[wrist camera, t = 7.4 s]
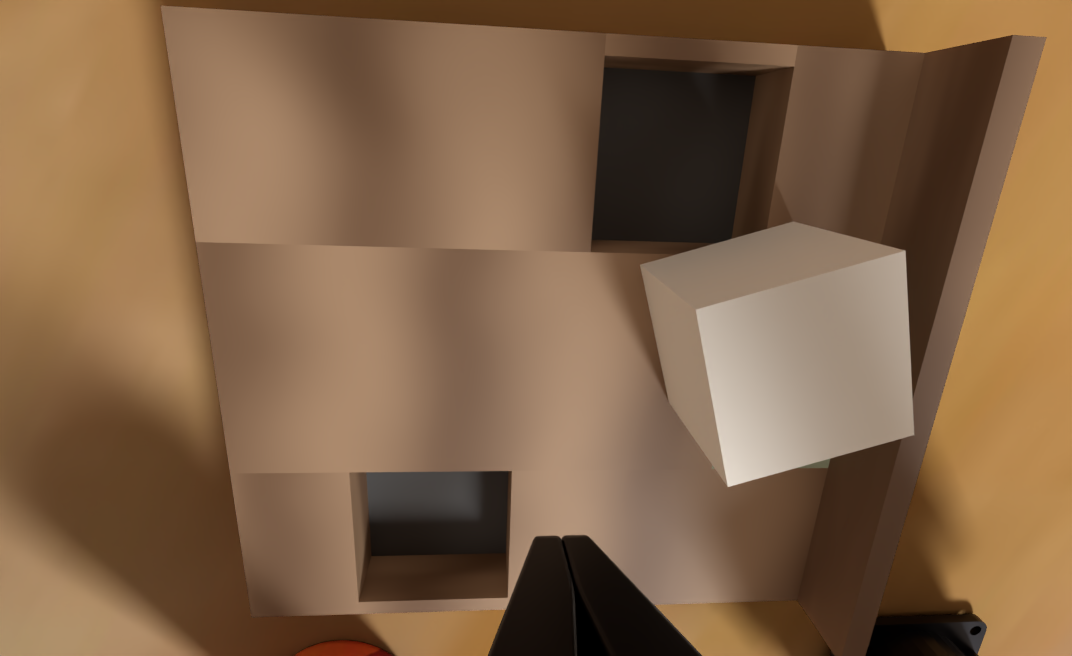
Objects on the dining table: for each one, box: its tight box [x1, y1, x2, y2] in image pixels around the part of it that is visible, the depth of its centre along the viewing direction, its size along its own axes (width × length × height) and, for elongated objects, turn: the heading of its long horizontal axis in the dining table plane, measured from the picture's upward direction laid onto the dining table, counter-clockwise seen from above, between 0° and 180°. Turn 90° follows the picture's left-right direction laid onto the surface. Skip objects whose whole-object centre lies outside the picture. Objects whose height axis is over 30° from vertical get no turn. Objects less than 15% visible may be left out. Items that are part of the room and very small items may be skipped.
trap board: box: [161, 6, 1046, 656], centre depth 17 cm, size 20×18×5 cm
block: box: [640, 222, 914, 487], centre depth 14 cm, size 4×4×4 cm
